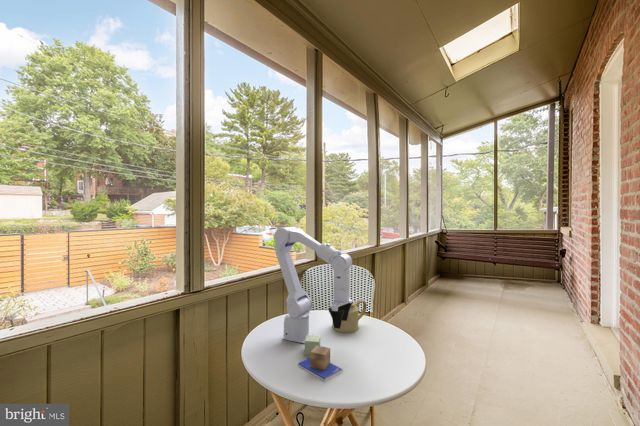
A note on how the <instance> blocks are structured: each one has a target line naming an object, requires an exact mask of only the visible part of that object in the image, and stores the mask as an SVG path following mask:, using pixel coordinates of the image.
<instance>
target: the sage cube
mask: <svg viewBox="0 0 640 426" xmlns="http://www.w3.org/2000/svg"><path fill="white" fill-rule="evenodd" d="M316 345H317V346H321V335H319V334H318V335H317V334H316V335H315V334H312V335H307V336H306V339H305V343H304V355H306V356H310V352H311V351H312V350H313V349H314V347H315V346H316Z"/></svg>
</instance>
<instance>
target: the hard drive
mask: <svg viewBox="0 0 640 426" xmlns="http://www.w3.org/2000/svg"><path fill="white" fill-rule="evenodd" d="M297 365H298V367H300V368H302V369H303V370H305V371H307V372H308V373H310V374H312V375H314V376H315V377H317V378H318V379H321V380H322V381H324V382H327V381H328V380H330V379H332V378H334V377H335V376H337V375H338V374H341V373H342V372H343V368H341V367H339V366H337V365H335V364H334V363H331V362H330V364H329V365H328V367H327V368H326V369H325V370H321V369H316V368H312V367H310V357H308V358H306V359H303V360H301V361H300V362H298V364H297Z"/></svg>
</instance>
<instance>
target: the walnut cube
mask: <svg viewBox="0 0 640 426" xmlns="http://www.w3.org/2000/svg"><path fill="white" fill-rule="evenodd" d="M309 356H310V357H309V358H310V367H312V368H316V369H321V370H325V369H326V368H327V367H328V365H329V364H330V363H331V348H330V347H326V346H322V345H320V346H317V345H316V346H315V347H314V349H313V350H312V351H311V352H310V355H309Z"/></svg>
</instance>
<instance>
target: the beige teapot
mask: <svg viewBox="0 0 640 426" xmlns="http://www.w3.org/2000/svg"><path fill="white" fill-rule="evenodd" d="M350 300H352V301H353V303H352V305H351V307H350V310H349V314H348V318H347V321H343V320H342V322H341V327H340V329H338V328H334V325H333V324H332V328H333V329H334V330H335V331H337V332H340V333H353V332H356V331H357V330H358V329H359V320H360V319H361V318H362V317H363V316H364V315H365V313H366V311H367V302H366V301H365V300H364V299H358V300H357V302H355V301H354V300H353V299H351V298H350ZM361 303H363V306H362V310H361V312H359V309H360V307H359V306H360V304H361Z"/></svg>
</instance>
